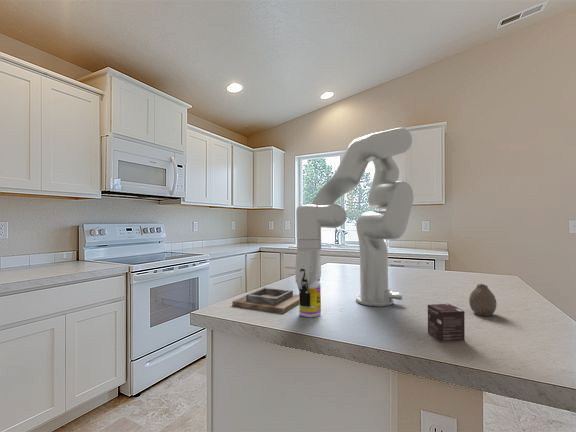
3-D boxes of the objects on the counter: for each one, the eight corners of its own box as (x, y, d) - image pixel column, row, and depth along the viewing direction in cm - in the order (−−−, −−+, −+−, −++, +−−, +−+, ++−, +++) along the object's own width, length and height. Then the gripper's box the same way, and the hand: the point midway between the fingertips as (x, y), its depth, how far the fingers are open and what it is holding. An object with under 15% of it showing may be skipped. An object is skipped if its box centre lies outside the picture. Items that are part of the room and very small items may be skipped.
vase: (492, 311, 92) (492, 283, 92) (500, 318, 86) (499, 288, 86) (467, 309, 95) (466, 281, 95) (472, 316, 88) (472, 286, 88)
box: (427, 333, 76) (426, 304, 76) (449, 332, 77) (449, 303, 77) (441, 343, 70) (440, 311, 70) (465, 341, 71) (465, 310, 71)
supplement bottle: (319, 318, 89) (319, 275, 89) (297, 317, 90) (297, 274, 90) (321, 311, 95) (321, 271, 95) (301, 310, 96) (300, 270, 96)
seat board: (305, 299, 109) (305, 290, 109) (283, 313, 94) (283, 302, 94) (259, 294, 118) (259, 285, 118) (232, 305, 103) (232, 295, 103)
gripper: (309, 242, 102) (309, 295, 102) (285, 247, 87) (286, 309, 87) (330, 242, 99) (330, 297, 98) (308, 248, 83) (310, 312, 83)
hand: (309, 302), depth 93 cm, fingers closed on supplement bottle, 6 cm apart
